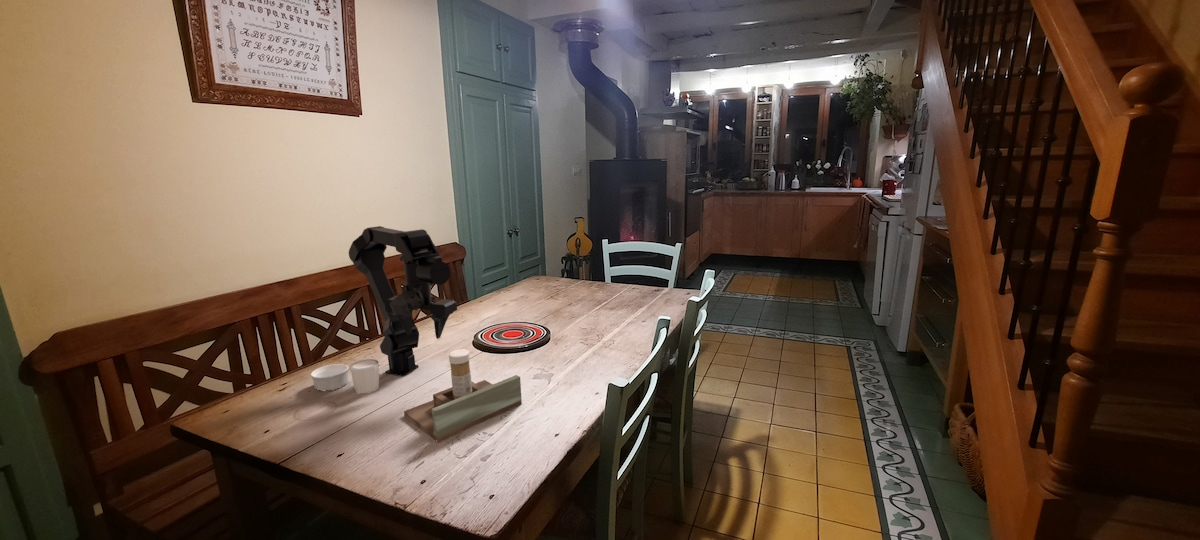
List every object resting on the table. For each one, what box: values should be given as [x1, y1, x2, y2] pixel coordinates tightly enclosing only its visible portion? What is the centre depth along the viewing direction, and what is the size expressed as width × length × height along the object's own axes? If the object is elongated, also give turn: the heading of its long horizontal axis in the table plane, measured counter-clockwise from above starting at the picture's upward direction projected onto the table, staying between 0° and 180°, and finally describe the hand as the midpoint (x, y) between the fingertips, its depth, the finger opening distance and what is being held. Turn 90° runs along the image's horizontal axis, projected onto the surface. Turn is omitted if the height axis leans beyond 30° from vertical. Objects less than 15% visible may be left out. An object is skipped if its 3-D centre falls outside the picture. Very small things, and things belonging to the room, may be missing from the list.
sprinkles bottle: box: [448, 349, 472, 400], centre depth 115 cm, size 5×5×13 cm
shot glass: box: [349, 358, 380, 394], centre depth 127 cm, size 7×7×7 cm
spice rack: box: [403, 374, 523, 443], centre depth 116 cm, size 16×22×7 cm
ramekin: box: [310, 363, 350, 392], centre depth 130 cm, size 9×9×4 cm
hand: (423, 336), depth 128 cm, fingers open, 9 cm apart
